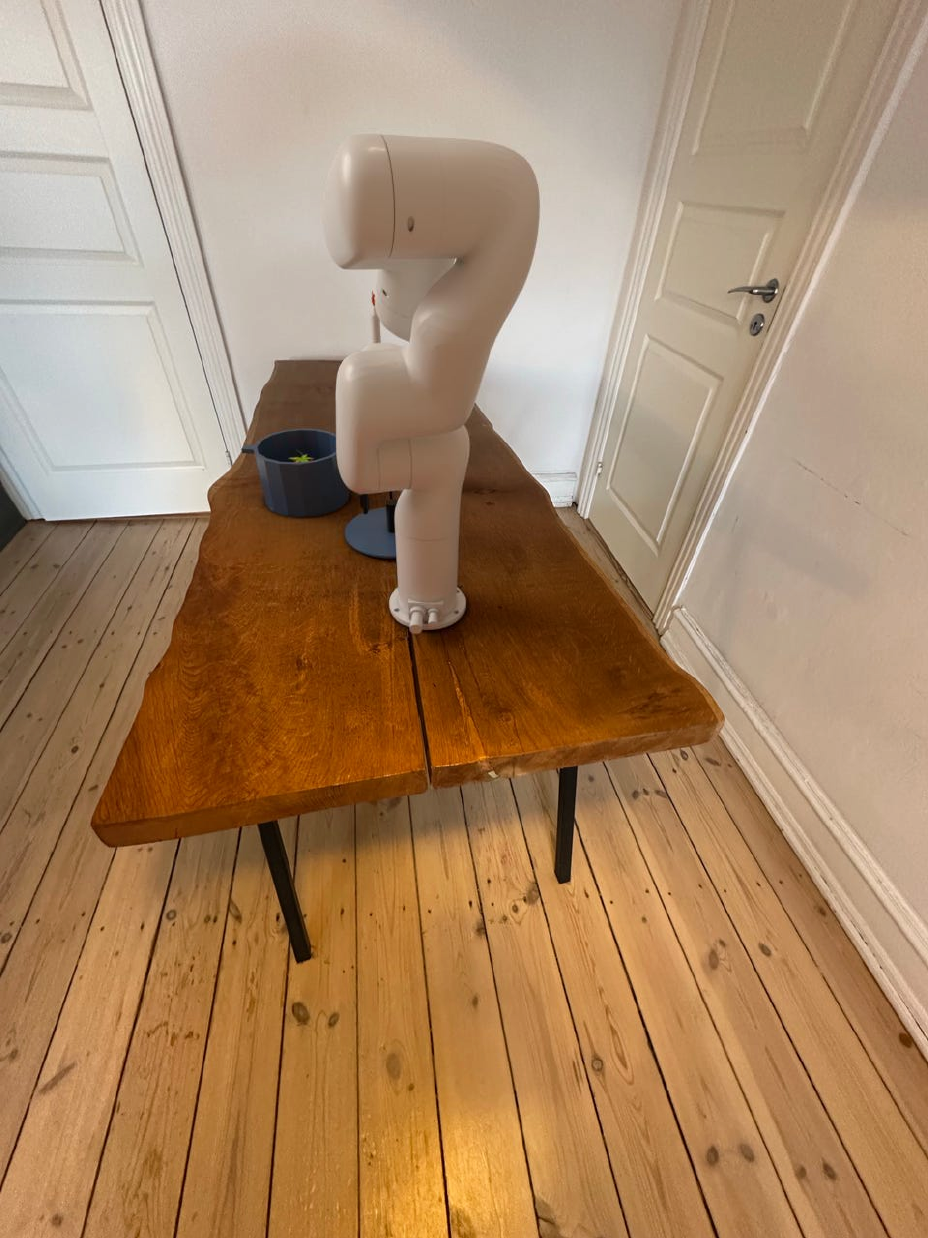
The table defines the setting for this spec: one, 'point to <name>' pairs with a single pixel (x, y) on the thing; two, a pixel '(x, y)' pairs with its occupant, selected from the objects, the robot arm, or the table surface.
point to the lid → (374, 531)
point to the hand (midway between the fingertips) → (391, 511)
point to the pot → (299, 472)
